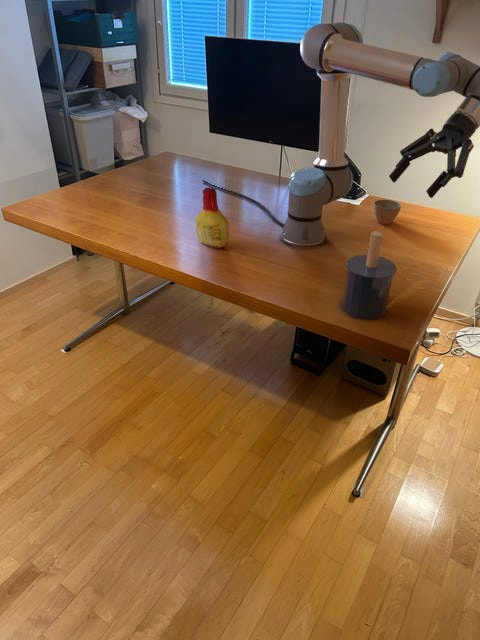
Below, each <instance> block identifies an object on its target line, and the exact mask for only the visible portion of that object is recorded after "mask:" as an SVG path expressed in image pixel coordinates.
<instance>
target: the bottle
mask: <svg viewBox="0 0 480 640" xmlns="http://www.w3.org/2000/svg"><path fill="white" fill-rule="evenodd" d="M195 227H196V235H197V240H198V242H199V243H201V244H203V245H206V246H209V247H211V248H218V249H221V248H224V246H226V245H227V244H228V243H229V237H230V236H229V234H230V228H229V227H230V225H229V221H228V219H227V217H226V216H225V215H224V213H223V212H222V211H221V210H220V209H219V204H218V194H217V190H216V188H215V187H205V188H204V189H203V190H202V210H201V211H200V212H199V213H198V214H197V215H196V218H195ZM200 241H201V242H200ZM202 242H203V243H202ZM205 243H206V244H205ZM207 244H208V245H207ZM211 245H212V246H211ZM216 246H217V247H216Z"/></svg>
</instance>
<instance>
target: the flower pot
mask: <svg viewBox="0 0 480 640" xmlns="http://www.w3.org/2000/svg"><path fill="white" fill-rule="evenodd" d="M401 208H402V204H401V203H400V202H398V201H395V200H392V199H377V200H374V201H373V214H374V217H375V219H376V221H377V223H378V224H381V225H390V224H392V223H393V221H394V220H395V219H396V218H397V216H398V215H399V213H400V211H401Z"/></svg>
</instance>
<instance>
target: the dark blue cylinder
mask: <svg viewBox="0 0 480 640" xmlns="http://www.w3.org/2000/svg"><path fill="white" fill-rule="evenodd" d="M393 277H394V276H392V277H390V278H387V279H379V280H376V279H367V278H362V277H359V276H357V275H355V274H353V273H351V272H350V271H349V270H348V269H347V268H346V277H345V282H344V283H345V284H344V290H343V296H342V303H341V306H342V307H341V308H342V310H343V311H344V313H346V314H347V315H349V316H351V317H353V318H355V319H358V320H359V319H360V320H367V321H369V320H370V321H371V320H376V319H380V318H382V317H383V316H384V315H385V314H386V310H387V306H388V301H389V296H390V291H391V287H392V282H393Z"/></svg>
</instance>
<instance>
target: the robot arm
mask: <svg viewBox="0 0 480 640" xmlns="http://www.w3.org/2000/svg"><path fill="white" fill-rule="evenodd" d="M299 51H300V56H301V58H302V61H303V62H304V63H305V65H306V66H307V67H310V68H311V69H313V70H314V69H315V70H316V75H317V76H318V77H319V78H320V80H321V83H320V85H321V86H320V108H319V109H320V110H319V111H320V112H319V139H318V157H317V158H316V159H315V160H314V162H313V167H307V168H300V169H298V170H295V171H294V172H293V173H292V174H291V176H290V179H289V184H288V202H287V217H286V220H285V222H284V223H283V222H281V220H278V219H277V218H276V217H275V216H274V215H273V214H272V213H271V212H270V211H269V209H268V208H266V206H264V205H263V204H262V203H261V202H259V201H257V200H255V199H253V198H252V197H249V196H247V195H246V194H243V193H240V192H236V191H235V190H231V191H229V190H230V189H228V190H226V189H227V188H225V189H223V188H224V187H222V188H220V187H221V186H220V187H217V186H218V185H217V186H215V185H216V184H214V185H212V184H213V183H212V184H210V183H211V182H210V183H208V182H209V181H207V180H205V179H202V182H203V183H205V184H207V185H209V186H212V188H215V189H216V188H217V189H219V190H222V191H225V192H228V193H229V194H230V193H231V194H233V195H236V196H238V197H241V198H244V199H247V200H248V201H250V202H253V203H254V204H256V205H257V206H259V207H260V208H261V209H262V210H264V211H265V212H266V213H267V215H268V216H269V217H270V218H271V219H272V220H273V221H274V222H275V223H276V224H278V225H280V226H282V229H281V232H280V239H281V241H282V242H283V243H284V244H286V245H288V246H295V247H300V248H301V247H302V248H308V247H309V248H310V247H315V246H319V245H322V244H323V243H324V242H325V236H326V235H325V227H324V224H323V221H322V217H323V207H324V206H326V205H327V204H330V203H333V202H334V201H335V202H336V201H339V200H341V199H342V198H343V197H345V196H346V195H348V193H349V192H350V191H351V189H352V187H353V183H354V175H353V172H352V171H351V168H350V167H349V160H348V159H347V158H346V156H345V149H346V131H347V115H348V102H349V101H348V100H349V88H350V87H349V85H350V78H351V77H352V76H353V75H355V76H358V77H362V78H367V79H370V80H374V81H378V82H381V83H385V84H389V85H393V86H397V87H401V88H404V89H407V90H408V89H409V90H411V91H415V93H416V94H417V95H419V96H420V97H424V98H433V97H437V96H440V95H442V94H446V93H450V92H454V93H456V94H458V95H460V96H462V97H464V100H463V101H462V102H461V103H460V104H459V106H457V108H456V109H455V110H453V113H452V114H451V115H450V116H449V117H448V118H447V120H446V121H445V122H444V124H443V126H442V128H441V130H440V131H438V132H437V131H435V130H434V128H429V129H428V131H426V132H425V134H423V135H422V136H420V137H419V138H417V139H416V140H414V141H412V142H411V143H410V144H408V145H407V146H405V147H404V148H402V149H401V150H400V151H399V154H400V155H401V158H400V160H399V161H398V162H397V164H396V165H395V168H394V169H393V170H392V172H391V173H390V174H389V175H388V177H389V179H390V180H391V182H392V183H394V184H395V183H396V182H398V181H397V180H399V178H400V177H401V176H402V175H403V174H404V172H405V171H406V170H407V169H408V168H409V166H410V165H411V162H412V161H414V160H417V159H419V158H420V157H424V156H426V155H427V154H429V153H435V152H437V153H442V154H444V155H447V156H446V157H447V159H446V161H447V162H446V169H445V170H442V172H441V173H440V174H439V175H438V176H437V178H436V179H435V180H434V181H433V182H432V184H430V185H429V187H428V188H427V189H426V190H425V192H426V194H427V195H428V197H429V198H430V199H433V198H434V197H435V196H436V195H437V193H438V192H439V191H440V190H441V189H442V188H445V187H446V185H447V184H448V183H449V182H451V180H452V179H454V178H458V179H461V178H462V177H463V176H464V173H465V169H466V167H467V163H468V160H469V156H470V154H471V151H472V150H473V149H474V147H475V145H474V143H473V140H472V139H471V138H472V136H473V135H474V134H475V133H476V131H477V130H478V129H479V128H480V65H478V64H476V63H475V62H472V61H470V60H469V59H467V58H464V57H463V56H462V55H460V54H456V53H453V52H451V51H446V52H444V53H443V54H442V55H441V56H440V57H439V58H438V59H437V60H436V59H431V58H426V57H423V56H420V55H419V56H418V55H414V54H411V53H406V52H402V51H401V52H400V51H396V50H392V49H387V48H383V47H379V46H374V45H370V44H366V43H364V40H363V36H362V34H361V32H360V30H359V29H358V27H356V26H355V25H353V24H352V23H347V22H341V21H340V22H331V23H317V24H315V25H313V26H311V27H309V28H308V29H307V30H306V31H305V33H304V34H303V36H302V38H301V41H300V47H299ZM458 149H460V152H459V155H458V159H457V162H456V157H457V150H458ZM204 180H205V181H204ZM206 181H207V182H206Z"/></svg>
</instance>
